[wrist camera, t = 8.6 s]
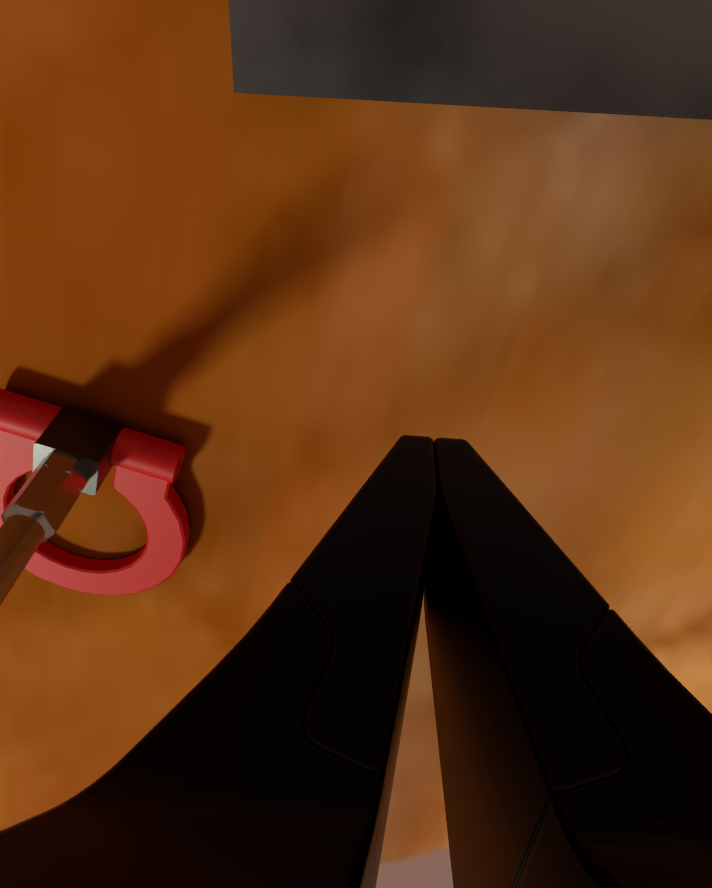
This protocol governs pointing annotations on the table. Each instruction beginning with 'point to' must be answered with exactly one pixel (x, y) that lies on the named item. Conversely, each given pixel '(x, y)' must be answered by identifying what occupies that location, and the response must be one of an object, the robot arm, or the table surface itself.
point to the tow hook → (83, 470)
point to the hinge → (482, 53)
